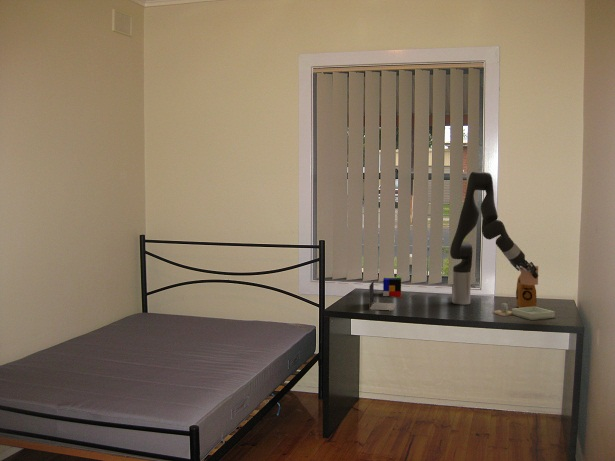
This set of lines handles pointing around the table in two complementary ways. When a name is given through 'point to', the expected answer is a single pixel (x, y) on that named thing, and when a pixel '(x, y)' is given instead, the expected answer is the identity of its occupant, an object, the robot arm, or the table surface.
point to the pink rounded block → (528, 277)
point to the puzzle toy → (392, 286)
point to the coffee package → (525, 294)
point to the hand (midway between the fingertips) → (532, 276)
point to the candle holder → (503, 310)
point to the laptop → (378, 305)
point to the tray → (533, 313)
